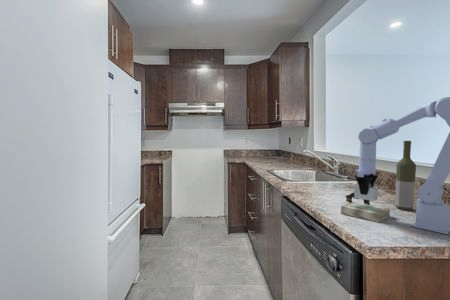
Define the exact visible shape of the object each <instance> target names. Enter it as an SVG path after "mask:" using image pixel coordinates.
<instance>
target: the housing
mask: <svg viewBox="0 0 450 300" xmlns="http://www.w3.org/2000/svg"><path fill="white" fill-rule="evenodd" d="M378 188H379V187H378V186H375V185H374V186H371V184H369V187H368V192H367V195H363V194H360V189H359V185H358V184H354V190H353V191H354V192H353V193H354V198H353V199H355V198H359V199H358V200H363V199H364V200H370V202H371V201H372V202H375V201H377V200H378V195H379V193H378V191H379V189H378Z"/></svg>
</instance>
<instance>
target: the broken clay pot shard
mask: <svg viewBox="0 0 450 300" xmlns="http://www.w3.org/2000/svg"><path fill="white" fill-rule="evenodd" d="M345 198H346V200H345V202H347V203H351V202H353V199H356V200H360V199H359V198H354V192H352V193H350V194H347V195H345ZM362 200H363V204H368V205H371V203H370V202H371V201H370V200H364V199H362Z"/></svg>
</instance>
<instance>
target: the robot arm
mask: <svg viewBox="0 0 450 300" xmlns="http://www.w3.org/2000/svg"><path fill="white" fill-rule="evenodd" d="M437 115H438V116H439V117H440V118H441V119H443V120H444V121H445V122H446V124H447V125H448V127H449V128H450V96H446V97H442V98H440V99H439V100H435V101H431V102H429V103H427V104H425V105H423V106H420V107H418V108H416V109H414V110H412V111H410V112H409V113H406V114H404V115H402V116H400V117H399V118H396V119H393V118H388V119H387V118H383V120H381V122H380V123H377V124H375V125H370V126H369V128H363V130H361V131H360V132H358V140H359V142H360V143H359V144H360V145H359V157H358V158H359V159H358V160H359V161H358V169H355V172H357V174H356V175H355V180H356V182H357V185H359V189H360V194H363V195H367V192H368V187H369V184H371V186H375V183H376V181H377V179H378V178H379V176H378V174H377V175H376V173H377V171H376V164H377V142H378V141H379V140H383V139H384V138H385V139H386V138H387V137H389V136H392V135H394V134H396V133H398V132H399V130H400V128H401V127H404V126H407V125H409V124H412V123H413V122H417V121H419V120H422V119H424V118H437ZM442 145H443V146H442V147H441V149H440V152H439V153H438V156H437V158H436V160H435V162H434V164H433V166H432V169H431V170H430V173H429V174H428V176H427V178H426V180H425V182H424V183H423V184H422V185H420V186H419V187H418V188H417V191H416V192H417V197H418V198H416V208H415V211H416V212H415V222H414V223H413V224H412V227H413V228H417V229H422V230H426V231H431V232H435V233H441V234H445V235H449V233H450V204H445V202H444V200H442V199H441V198H442V196H443V195H444V184H445V183H446V180H447V178H448V176H449V174H450V131H449V133H448V134H447V137H446V139H445V141H444V143H443V144H442Z"/></svg>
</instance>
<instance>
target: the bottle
mask: <svg viewBox="0 0 450 300" xmlns="http://www.w3.org/2000/svg"><path fill="white" fill-rule="evenodd" d="M411 147H412V140H403V149H402V150H403V152H402V154H403V155H402V158H401V159H400V160H399V161H397V162H396V176H395V182H396V183H395V207H396V208H397V209H399V210H403V211H411V210H413V209H414V199H415V198H414V197H415V188H416V187H415V185H416V184H415V183H416V173H417V171H416V170H417V164H416V162H414V161H413V160H412V158H411V152H412V151H411V149H412V148H411Z"/></svg>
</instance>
